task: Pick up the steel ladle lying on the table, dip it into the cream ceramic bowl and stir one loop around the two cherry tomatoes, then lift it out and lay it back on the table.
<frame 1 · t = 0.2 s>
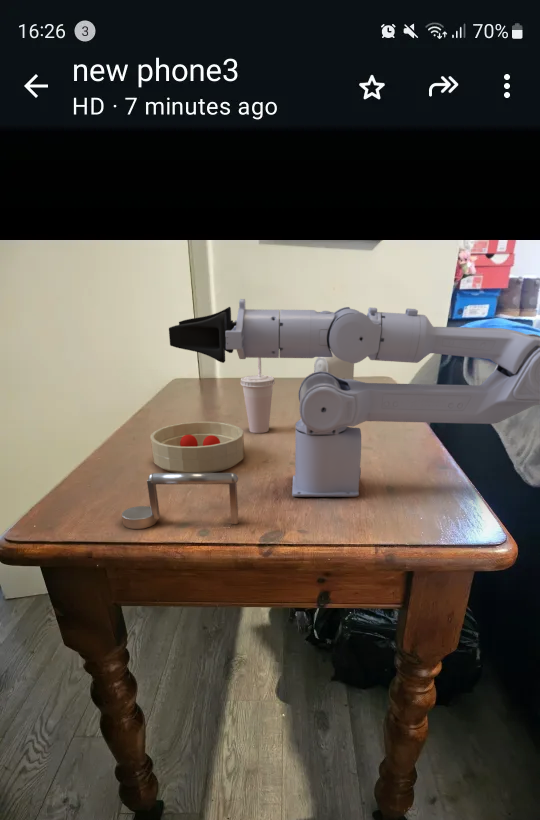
hand: (174, 333, 76), 21 cm above the table, tool horizontal, fingers open, 7 cm apart
bowl: (199, 460, 98), on the table
smoothie: (259, 431, 113), on the table
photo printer: (332, 411, 125), on the table
ladle: (140, 522, 77), on the table
tomato a: (188, 443, 99), point 2 cm above the table, touching bowl
tomato b: (211, 444, 99), point 2 cm above the table, touching bowl
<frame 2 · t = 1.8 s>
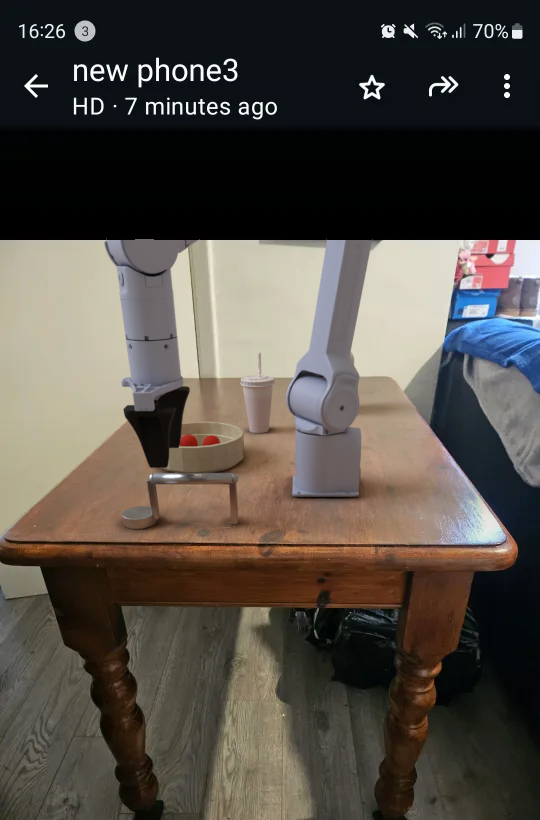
hand: (165, 456, 72), 9 cm above the table, tool pointing down, fingers open, 7 cm apart
nothing on the table moved.
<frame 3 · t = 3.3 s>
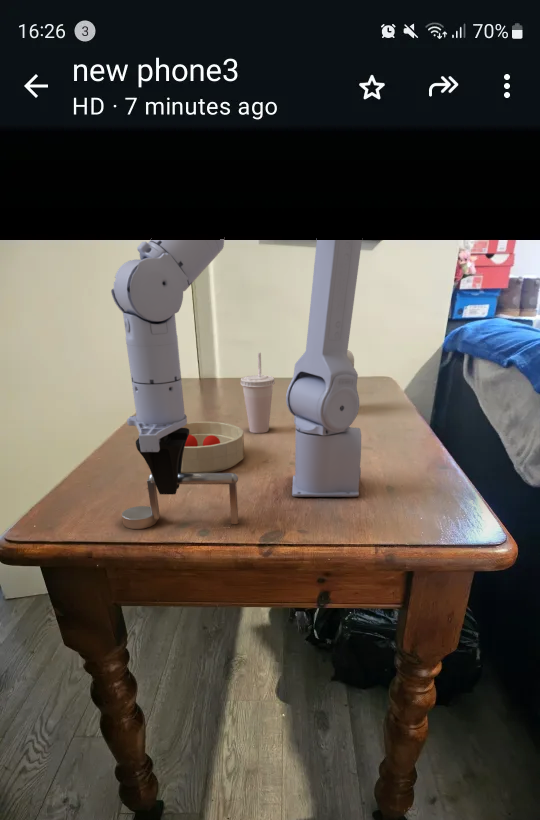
hand: (169, 490, 74), 4 cm above the table, tool pointing down, fingers closed on ladle
ladle: (140, 522, 77), on the table, touching gripper
everything else where it was.
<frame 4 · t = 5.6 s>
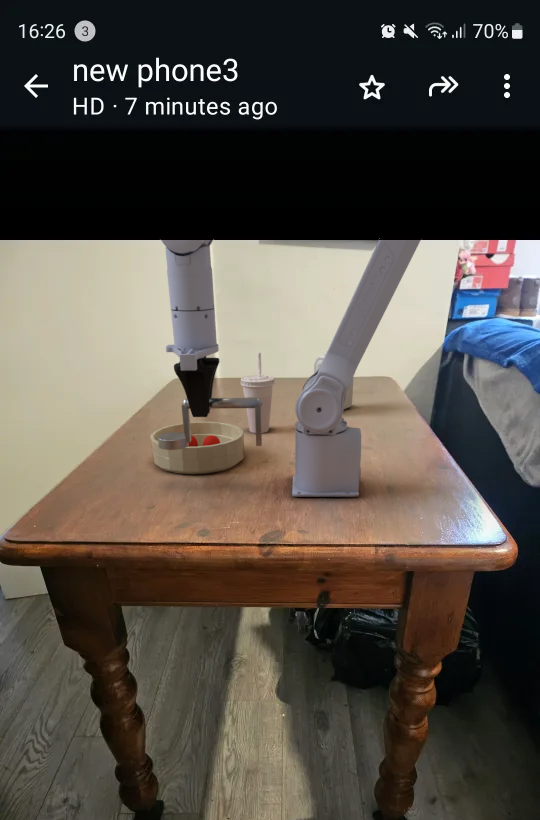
hand: (201, 414, 83), 10 cm above the table, tool pointing down, fingers closed on ladle
ladle: (173, 445, 86), point 6 cm above the table, touching gripper
everything else where it was.
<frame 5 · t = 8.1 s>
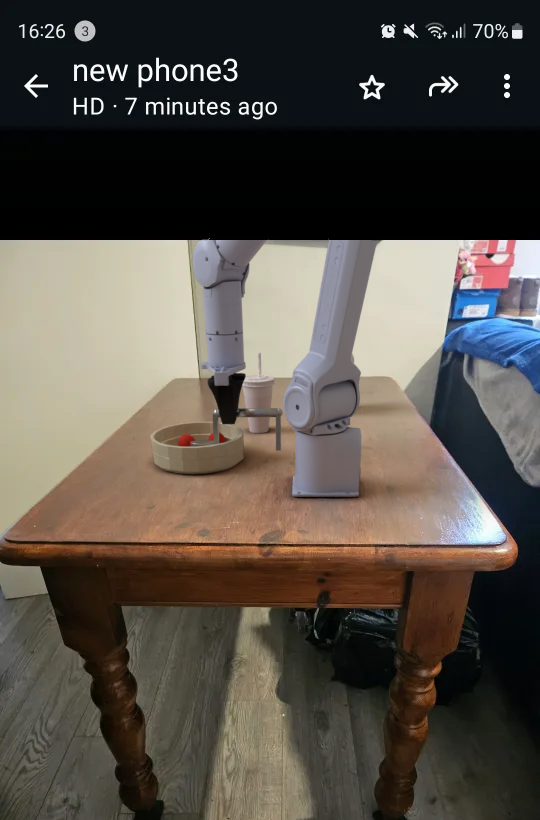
hand: (229, 422, 96), 6 cm above the table, tool pointing down, fingers closed on ladle
ladle: (203, 450, 98), point 2 cm above the table, tilted 8°, touching gripper
tomato a: (187, 443, 100), point 2 cm above the table, tilted 15°, touching bowl
tomato b: (216, 440, 101), point 2 cm above the table, tilted 79°, touching bowl
everything else where it was.
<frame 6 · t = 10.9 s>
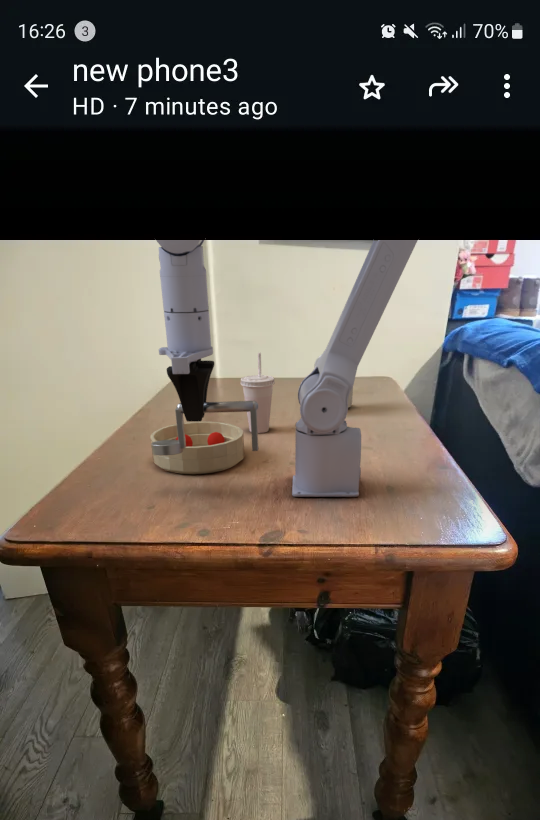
hand: (195, 419, 81), 10 cm above the table, tool pointing down, fingers closed on ladle
ladle: (167, 452, 83), point 6 cm above the table, tilted 6°, touching gripper
tomato a: (183, 443, 100), point 2 cm above the table, tilted 34°, touching bowl
tomato b: (216, 441, 100), point 2 cm above the table, tilted 74°, touching bowl
everything else where it was.
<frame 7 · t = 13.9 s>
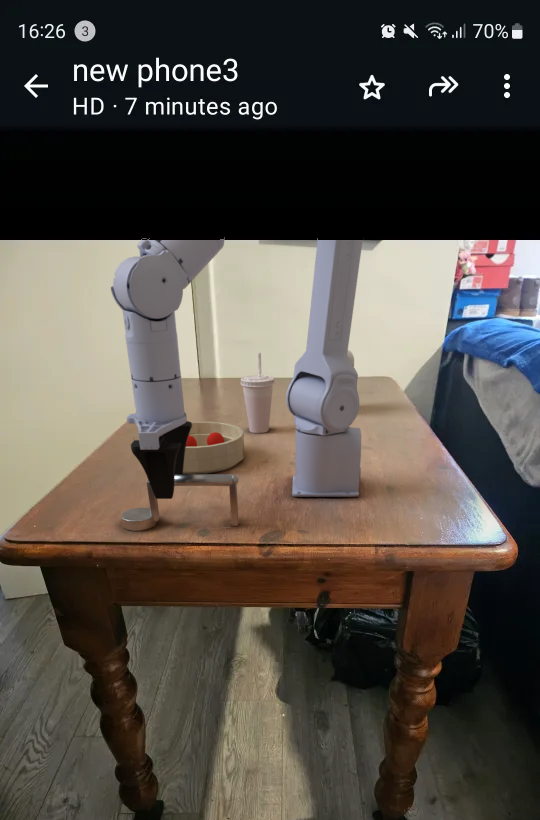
hand: (169, 488, 74), 5 cm above the table, tool pointing down, fingers open, 6 cm apart
ladle: (139, 523, 76), on the table
tomato a: (188, 444, 99), point 2 cm above the table, tilted 7°, touching bowl
tomato b: (215, 441, 100), point 2 cm above the table, tilted 68°, touching bowl
everything else where it was.
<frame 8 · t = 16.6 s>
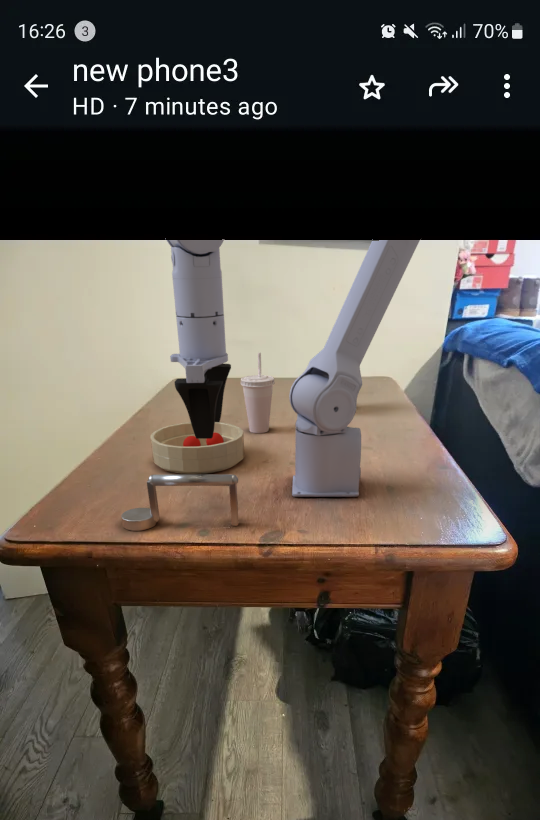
hand: (208, 429, 77), 10 cm above the table, tool pointing down, fingers open, 7 cm apart
tomato a: (191, 445, 99), point 2 cm above the table, tilted 41°, touching bowl
tomato b: (214, 441, 100), point 2 cm above the table, tilted 63°, touching bowl
everything else where it was.
at the end: tomato a moved 1.1 cm from its start; tomato a inside the target area in the bowl (2.1 cm from its centre), point 2.1 cm above the bowl's base; ladle inside the target area (1.0 cm from its centre), on the table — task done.
